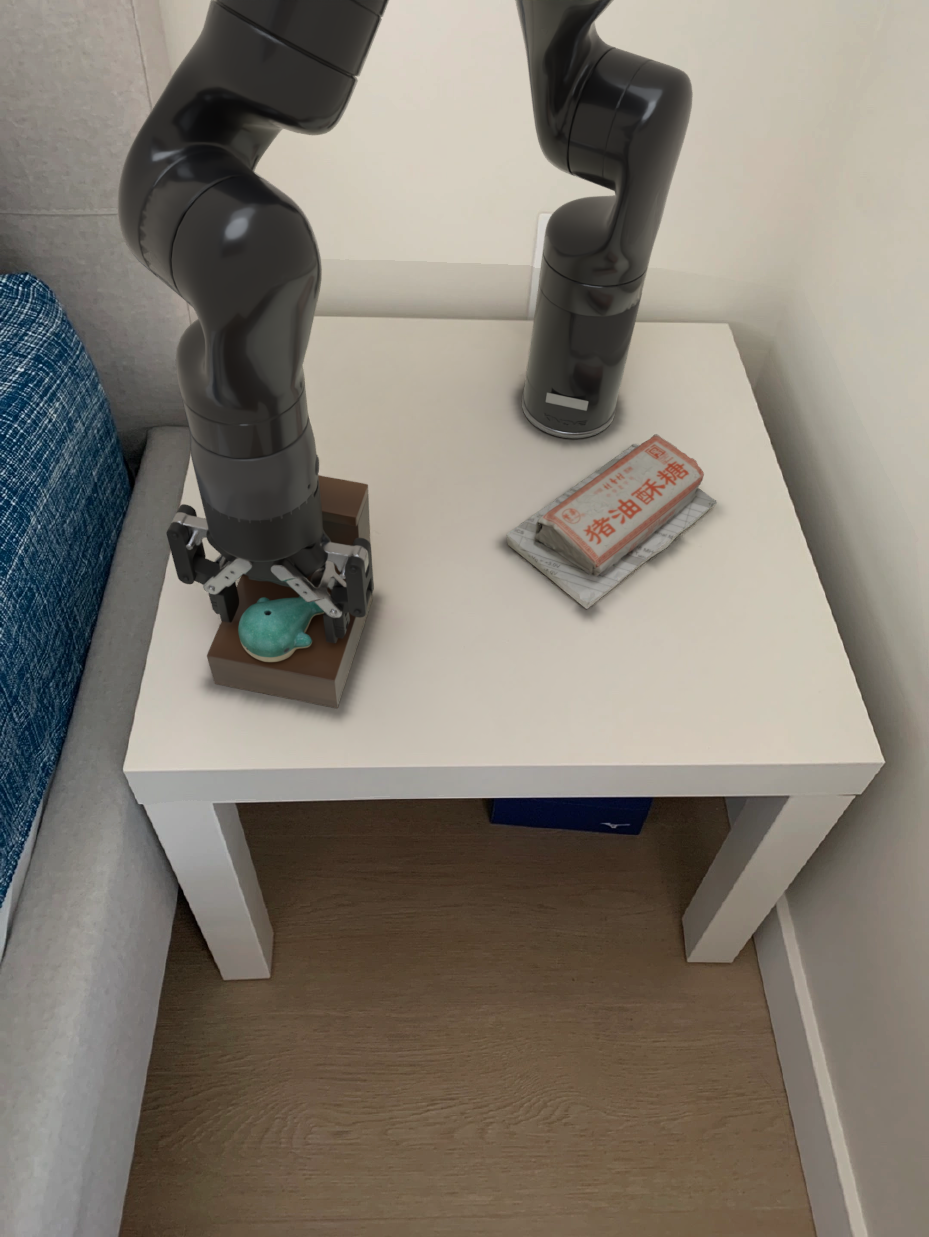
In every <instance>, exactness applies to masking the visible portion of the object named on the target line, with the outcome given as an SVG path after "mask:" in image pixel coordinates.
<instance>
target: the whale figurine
mask: <svg viewBox="0 0 929 1237" xmlns="http://www.w3.org/2000/svg"><path fill="white" fill-rule="evenodd" d="M320 614H324V611H323V610H322V609H321V608H320V607H319V606H318V605H317V604H316V603H315V602H314V601H313V602H309V603H308V602H306V601H305V600H304V599H303V598H302V597H301V596H299V597H298V598H284V599H277V600H271V601H270V600H269V599H268V598H265V597H263V598H260V599H259V600H258V601H257V603H256V604H253V605H251V606H250V607H249V608H248V609H247V610H246V611H245V612H244V613H243V615H242V616H241V619H240V622H239V627H238V633H239V638H240V641H241V644H242V646H243V648H244V649H245V650H246V651H247V652H248V653H249V654H250V655H251V656H253V657H254V658H256V659H258V660H261V661H264V662H278V661H282V660H284V659H287V658H288V657H290V656H291V655H292V654H293V653H294V651H295V650H296V649H300V648H308V647H309V646H310V645H311V644H312V639H311V637H310V636H309V635H307V634H305V632H306V630H307V628H308V626H309V624H310V621H311V619H312V618H313V617H314V616H315V615H320Z"/></svg>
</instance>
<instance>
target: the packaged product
mask: <svg viewBox="0 0 929 1237" xmlns="http://www.w3.org/2000/svg"><path fill="white" fill-rule="evenodd" d="M704 476H705V473H704V471H703V469H702V468H701V467H700V466H699V464H698V462H697V460H696V459H695V458H694V457H690V456H689V455H687V453H685V452H683V451H681V450H680V449H679V448H678V447H677V446H675V445H674V444H673V443H671V442H669V440H666V439H665V438H663V437H662V436H660V435H659V434H657V433H655V434H653V435H652V436H651V437H650V438H649V439H647V440H646V441H644V442H641V443H640V444H638V443H637V444H636V443H632V444H631V445H629V447H628V448H627V449H624V451H622V452H621V453H620V454H618V455H616V456H615V457H614V458H612V459H611V460H609V461H608V462H606V463H605V464H604V465H602V466H601V467H600V468H598V469H597V470H595V471H594V472H592V473H591V474H589V475H588V476H587V477H586V478H584V479H582V480H581V481H580V482H578V483H577V484H576V485H575V486H573V487H571V488H570V489H568V490H567V491H566V492H564V493H563V494H561V495H560V496H558V497H557V498H556V499H554V500H553V501H552V502H551V503H549V504H548V505H546V506H544V507H543V508H541V509H540V510H539V511H537V512H536V513H534V514H533V515H531V516H530V517H528V518H527V519H526V520H525V521H523V522H521V523H520V524H519V525H518V526H517V527H515V528H513V529H512V530H510V531H508V532H507V534H506V541H507V545H508V546H509V547H510V548H511V549H512V550H514V551H515V552H516V553H518V554H519V555H520V556H521V557H523V558H524V559H525V560H526V561H527V562H529V563H530V564H531V565H533V567H535V568H536V569H537V570H538V571H539V572H541V573H542V574H544V576H546V577H547V578H548V579H549V580H551V581H552V582H553V583H554V584H555V585H557V586H558V587H559V588H560V589H562V590H563V591H564V592H566V594H568V595H569V596H570V597H571V598H572V599H574V601H576V602H577V603H578V604H579V605H581V606H582V607H583V608H585V609H586V610H588V609H589V608H591V607H592V606H593V605H594V604H595V603H597V602H599V600H600V599H601V598H603V597H604V596H605V595H606V594H607V593H609V592H610V591H611V590H612V589H614V588H615V587H616V586H618V585H619V584H620V583H621V582H622V581H623V580H624V579H625V578H626V577H627V576H629V575H630V574H631V573H633V572H634V571H635V570H636V569H638V568H639V567H641V566H642V565H643V564H645V563H646V562H648V560H650V559H652V558H653V557H655V556H656V555H658V554H659V553H661V552H662V551H664V550H665V549H667V548H668V547H669V546H670V545H671V544H672V542H673V541H674V540H675V539H676V538H677V537H678V536H679V535H681V533H682V532H684V531H686V529H688V528H690V526H692V525H693V524H695V523H696V522H697V521H698V520H699V519H700V518H702V516H704V515H705V514H706V513H707V512H708V511H709V510H711V509H712V508H713V507H715V505H716V504H717V503H718V502H717V501H718V500H716V499H714V498H713V497H711V496H710V495H709V494H707V493H706V492H705V491H703V490H702V489H701V488H699V487H700V485H701V483H702V482H703V479H704Z"/></svg>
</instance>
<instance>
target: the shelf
mask: <svg viewBox="0 0 929 1237" xmlns="http://www.w3.org/2000/svg"><path fill="white" fill-rule="evenodd" d="M318 476H319V485H320V496H321V506H322V519H323V530H324V532H325V533H326V534H327V536H328V537H329V538H330V540H331V542H332V543H338V544H344V545H350V546H352V545H353V542H354V540H355V539H356V538H364V539H366V540H368V541H369V542H370V543H371V520H370V500H369V499H370V497H369V494H370V493H369V484H368V483H363V482H358V481H353V480H352V481H351V480H347V479H341V478H336V477H331V476H325V475H320V474H318ZM334 566H335V572H336V573H337V574H338V575H340V571H339V570H338V569H337V566H336V565H335V564H334ZM311 577H312V575H310V576H309V577H308V578H307V579H308V580H309V581H310V579H311ZM343 580H344V581H345V582H346V579H343ZM236 587H237V591H238V596H239V606H238V609H237V611H236V614H235V616H234V618H233V621H232V622H231V623H229V622H224V621H221V620H220V621H221V622H220V624H219V626H218V628H217V630H216V633H215V634H214V635H215V636H214V637H213V640H212V642H211V645H210V646H209V649H208V651H207V654H206V658H207V662H208V665H209V669H210V673H211V676H212V680H213V683H214V684H215V685H219V686H224V687H229V688H234V689H239V690H245V691H249V692H254V693H258V694H264V695H269V696H273V697H279V698H284V699H288V700H289V699H290V700H293V701H298V702H304V703H309V704H314V705H318V706H324V707H329V708H334V709H338V708H339V705H340V702H341V698H342V695H343V693H344V690H345V686H346V683H347V680H348V677H349V674H350V671H351V667H352V665H353V661H354V658H355V655H356V652H357V649H358V646H359V643H360V640H361V635H362V633H363V630H364V627H365V624H366V621H367V618H368V615H369V612H370V608H371V606H372V602H373V594H372V595H371V597H370V600H369V603H368V606H367V612H366V615H365V616H364V617H361V618H359V617H355V616H353V615H351V614H350V612H349V617H350V621H349V624H348V627H347V630H346V633H345V636H344V637H343V639H342V638H338V639H337V642H336V643H330V642H326V637H325V628H324V619H323V615H324V614H320V615H315V616H314V617H313V618H312V619H311V621H310V624H309V626H308V628H307V630H306V632H305V634H307V635H309V636H310V637H311V639H312V644H311V645H310V646H309V647H308V648H300V649H296V650H295V651H294V653H293V654H292V655H291V656H290V657H288V658H287V659H284V660H282V661H278V662H264V661H261V660H258V659H256V658H254V657H253V656H251V655H250V654H249V653H248V652H247V651H246V650H245V649H244V648H243V646H242V644H241V641H240V638H239V633H238V627H239V622H240V619H241V616H242V615H243V613H244V612H245V611H246V610H247V609H248V608H249V607H250V606H251V605H253V604H256V603H257V601H258V600H259V599H260V598H263V597H265V598H268V599H269V600H270V601H271V600H277V599H284V598H298V597H299V596H300V595H299V594H298V593H297V592H296V591H295V590H294V589H293V588H292V587H287V586H282V585H279V584H276V583H273V582H270V581H256V580H251V579H249V577H248V576H247V575H244V574H243V575H242V576H241V577H239V579H238V582H237V584H236ZM327 591H328V593H329V594H331V590H330V589H329V588H328V587H327Z"/></svg>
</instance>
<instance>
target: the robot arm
mask: <svg viewBox="0 0 929 1237" xmlns="http://www.w3.org/2000/svg"><path fill="white" fill-rule="evenodd" d="M614 1H615V0H514V2H515V7H516V11H517V12H516V13H517V15H518V20H519V26H520V29H521V34H522V39H523V44H524V49H525V55H526V63H527V71H528V80H529V89H530V97H531V106H532V115H533V120H534V130H535V133H536V137H537V141H538V142H537V143H538V145H539V147H540V150H541V152H542V155H543V156H544V158H545V159H546V160H547V162H548V163H549V164H551V165H552V166H553V167H555V168H556V169H558V170H559V171H561V172H563V173H565V174H568V175H570V176H573V177H575V178H578V179H580V180H584V181H587V182H589V183H592V184H595V185H597V186H600V187H602V188H605V189H608V190H610V191H613V193H614V195H613V194H612V195H594V196H585V197H581V198H576V199H573V200H570V201H567V202H566V203H564V204H562V205H560V206H559V207H557V208H556V209H555V210H554V211H553V213H552V214H550V217H549V219H548V221H547V223H546V226H545V229H544V237H543V244H542V252H541V260H540V269H539V276H538V284H537V292H536V299H535V300H536V301H535V306H534V307H535V308H534V314H533V321H532V329H531V337H530V344H529V353H528V358H527V366H526V367H527V368H526V374H525V381H524V388H523V391H522V396H521V408H522V411H523V413H524V415H525V417H526V419H527V420H528V421H529V422H530V423H531V424H532V425H533V426H534V427H536V428H537V429H539V430H540V431H542V432H544V433H547V434H548V435H552V436H555V437H558V438H564V439H585V438H589V437H592V436H593V437H594V436H595V435H597V434H600V433H602V432H603V431H604V430H606V429H607V428H608V427H609V426H610V425H611V424H612V423H613V420H614V418H615V414H616V410H617V402H618V397H619V393H620V389H621V385H622V380H623V378H624V372H625V369H626V365H627V360H628V356H629V351H630V348H631V342H632V340H633V339H632V338H633V334H634V330H635V325H636V321H637V318H638V312H639V308H640V304H641V300H642V296H643V290H644V286H645V282H646V277H647V274H648V268H649V265H650V261H651V258H652V257H651V256H652V252H653V249H654V245H655V243H656V239H657V236H658V233H659V229H660V226H661V223H662V221H663V220H662V219H663V217H664V211H665V209H666V205H667V204H666V203H667V199H668V196H669V193H670V192H669V191H670V189H671V185H672V181H673V178H674V175H675V171H676V169H677V165H678V161H679V158H680V155H681V152H682V148H683V145H684V142H685V138H686V135H687V131H688V127H689V124H690V119H691V113H692V108H693V96H694V94H693V93H694V92H693V85H692V81H691V79H690V77H689V74H687V73H686V72H685V71H684V70H682V69H680V68H678V67H675V66H673V65H670V64H667V63H664V62H661V61H657V60H654V59H652V58H648V57H645V56H642V55H638V54H637V53H633V52H630V51H628V50H624V49H621V48H617V47H616V46H612V45H610V44H608V43H607V42H605V41H604V40H603V39H602V38H601V37H600V35H599V34H598V31H597V28H596V23H595V22H596V21H597V20H598V18H600V17H601V15H602V14H603V13H604V12H605V11H606V10H607V8H608V7H610V5H611V4H612V3H613V2H614ZM389 2H390V0H210V1H209V5H208V9H207V13H206V16H205V20H204V24H203V27H202V30H201V32H200V34H199V36H198V37H197V38H196V40H195V42H194V43H193V45H192V47H191V48H190V49H189V51H188V52H187V53H186V55H185V56H184V58H183V59H182V61H181V62H180V63H179V65H178V66H177V68H176V69H175V71H174V73H173V74H172V76H171V77H170V79H169V81H168V82H167V84H166V86H165V87H164V90H163V91H162V93H161V94H160V96H159V98H158V99H157V101H156V102H155V104H154V106H153V107H152V109H151V111H150V112H149V113H148V116H147V117H146V119H145V121H144V122H143V124H142V125H141V127H140V128H139V131H138V132H137V134H136V136H135V137H134V139H133V141H132V143H131V146H130V147H129V150H128V153H127V155H126V156H125V159H124V162H123V166H122V169H121V173H120V177H119V184H118V191H117V192H118V193H117V216H118V223H119V229H120V233H121V235H122V238H123V240H124V242H125V244H126V246H127V248H128V249H129V251H130V252H131V253H132V255H133V257H134V258H135V259H136V260H137V261H138V262H139V263H140V264H141V265H143V266H144V267H145V268H146V270H148V271H149V272H150V273H151V274H153V276H155V277H156V278H157V279H159V280H160V281H161V282H162V283H164V284H165V285H166V286H167V287H168V288H170V289H171V290H172V291H173V292H174V293H175V294H177V295H178V296H179V297H180V298H181V299H183V300H184V301H185V302H186V303H187V304H188V305H189V306H191V307H192V308H193V310H194V312H195V314H196V316H197V318H196V320H195V321H194V320H193V322H192V323H190V324H189V325H188V326H187V327H186V328H185V329H184V332H183V333H182V334H181V336H180V339H179V341H178V344H177V346H176V351H175V371H176V376H177V383H178V388H179V392H180V393H179V394H180V397H181V401H182V405H183V406H182V407H183V410H184V415H185V418H186V423H187V427H188V432H189V433H188V434H189V448H190V458H191V462H192V466H193V471H194V475H195V479H196V483H197V487H198V491H199V492H198V493H199V497H200V499H201V504H202V508H203V513H204V516H205V518H204V517H201V516H198V515H197V511H196V509H195V508H194V507H193V506H191V505H189V504H184V503H183V504H180V505H179V506H178V509H177V510H176V512H175V514H174V517H173V518H172V521H171V522H170V524H169V526H168V529H167V530H166V533H165V534H166V538H167V541H168V545H169V549H170V553H171V557H172V561H173V565H174V568H175V573H176V577H177V579H178V580H179V581H180V582H181V583H183V584H185V585H193V584H194V583H195V582H196V583H198V584H200V585H202V588H203V590H204V591H205V592H206V593H208V596H209V597H208V598H209V601H210V605H211V609H212V610H213V612H214V613H215V615H219V618H220V621H224V622H229V623H231V622H232V621H233V618H234V616H235V614H236V611H237V609H238V606H239V596H238V591H237V584H236V581H237V580H239V579H240V577H241V576H242V575H243V574H244V575H247V576H248V577H249V579H251V580H256V581H270V582H273V583H276V584H279V585H282V586H287V587H292V588H293V589H294V590H295V591H296V592H297V593H298V594H299V595H300V596H301V597H302V598H303V599H304V600H305V601H306V602H308V603H309V602H313V601H314V602H315V603H316V604H317V605H318V606H319V607H320V608H321V609H322V610H323V611H324V615H323V619H324V628H325V637H326V642H330V643H336V642H337V639H338V638H342V639H343V637H344V636H345V633H346V630H347V627H348V624H349V621H350V617H349V612H350V614H351V615H353V616H355V617H359V618H361V617H364V616H365V615H366V612H367V606H368V603H369V600H370V597H371V595H372V596H373V592H374V590H375V583H374V569H373V556H372V544H371V541H370V542H369V541H368V540H366V539H364V538H356V539H355V540H354V542H353V545H352V546H350V545H344V544H338V543H332V542H331V540H330V538H329V537H328V536H327V534H326V533H325V532H324V530H323V519H322V506H321V496H320V485H319V476H318V475H319V473H320V459H319V456H318V454H317V446H316V438H315V435H314V430H313V427H312V424H311V419H310V415H309V409H308V398H307V389H306V379H305V371H304V370H305V369H304V362H305V357H306V353H307V351H308V350H307V349H308V346H309V342H310V339H311V333H312V329H313V328H312V327H313V323H314V320H315V314H316V311H317V310H316V309H317V306H318V301H319V297H320V293H321V292H320V291H321V285H322V276H323V275H322V274H323V265H322V257H321V252H320V247H319V244H318V240H317V237H316V234H315V231H314V229H313V226H312V224H311V221H310V220H309V218H308V217H307V215H306V214H305V212H304V210H303V209H302V208H301V207H300V206H299V205H298V203H297V202H296V201H295V200H294V199H293V198H292V197H290V196H289V195H288V194H286V193H285V192H283V190H281V189H280V188H279V187H277V186H275V184H273V183H271V182H270V181H269V180H267V179H266V178H264V177H263V176H261V175H260V174H259V173H257V172H256V168H257V166H258V165H259V162H260V161H261V159H262V157H263V156H264V154H265V153H266V152H267V150H268V149H269V147H270V146H271V145H272V144H273V142H274V141H275V140H276V138H277V137H278V136H279V135H280V133H281V132H282V130H287V131H289V132H293V133H296V134H300V135H307V136H320V135H321V136H322V135H325V134H328V133H329V132H331V131H332V130H334V128H335V127H337V125H338V124H339V122H340V121H341V120H342V118H343V116H344V115H345V112H346V110H347V108H348V106H349V104H350V101H351V99H352V97H353V94H354V92H355V89H356V86H357V84H358V82H359V79H358V78H357V77H360V76H361V74H362V71H363V69H364V66H365V63H366V61H367V59H368V56H369V54H370V51H371V48H372V47H373V43H374V41H375V39H376V36H377V34H378V30H379V28H380V26H381V23H382V18H383V17H384V15H385V12H386V10H387V8H388V5H389ZM203 539H206V540H207V542H208V544H209V545H210V546H211V547H212V548H213V549H214V550H215V551H217V553H219V555H218V556H217V557H216V559H214V561H213V560H210V559H209V558H207V557H206V556H207V555H206V551H205V547H204V542H203ZM334 564H335V565H336V566H337V569H338V570H339V571H340V575H338V574H337V573H336V572H335V566H334ZM310 575H312V577H311V579H310V581H309V580H308V579H307V578H308V577H309V576H310ZM343 579H346V582H345V581H344V580H343ZM327 587H328V588H329V589H330V590H331V594H329V593H328V591H327Z"/></svg>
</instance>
